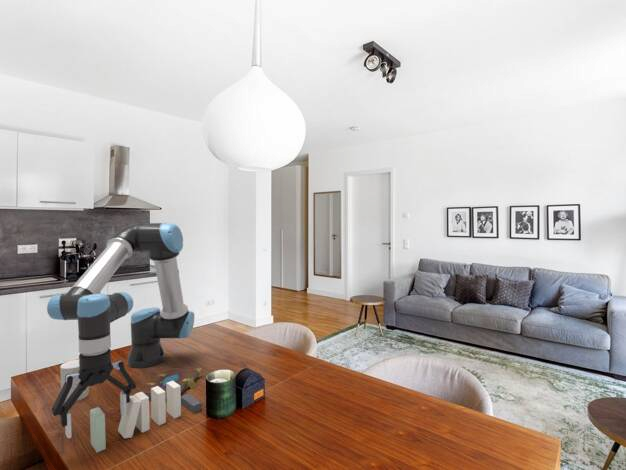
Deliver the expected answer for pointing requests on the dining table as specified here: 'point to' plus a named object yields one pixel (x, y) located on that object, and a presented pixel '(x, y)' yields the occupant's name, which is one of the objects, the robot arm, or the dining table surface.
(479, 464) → the dining table surface
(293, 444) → the dining table surface
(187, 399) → the stop bar
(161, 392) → the domino
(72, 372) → the cup
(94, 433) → the domino
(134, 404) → the domino
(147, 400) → the domino
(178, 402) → the domino
